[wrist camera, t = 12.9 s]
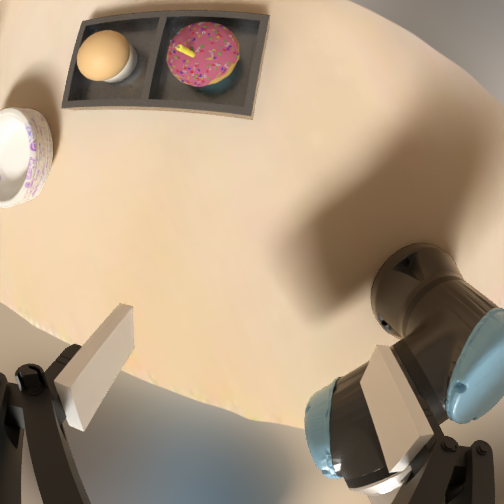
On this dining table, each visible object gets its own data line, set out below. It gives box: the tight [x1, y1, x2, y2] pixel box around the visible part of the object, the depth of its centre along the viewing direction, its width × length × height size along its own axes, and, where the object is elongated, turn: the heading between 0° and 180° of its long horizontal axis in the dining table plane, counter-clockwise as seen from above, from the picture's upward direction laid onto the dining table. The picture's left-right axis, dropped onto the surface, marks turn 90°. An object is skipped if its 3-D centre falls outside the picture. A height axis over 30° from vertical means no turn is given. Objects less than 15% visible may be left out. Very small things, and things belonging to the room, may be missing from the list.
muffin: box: [77, 30, 137, 83], centre depth 29 cm, size 7×7×8 cm
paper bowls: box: [0, 107, 53, 208], centre depth 34 cm, size 15×15×8 cm
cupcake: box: [166, 22, 240, 87], centre depth 28 cm, size 9×8×12 cm
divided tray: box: [62, 10, 270, 120], centre depth 32 cm, size 27×14×4 cm, turn 81°
